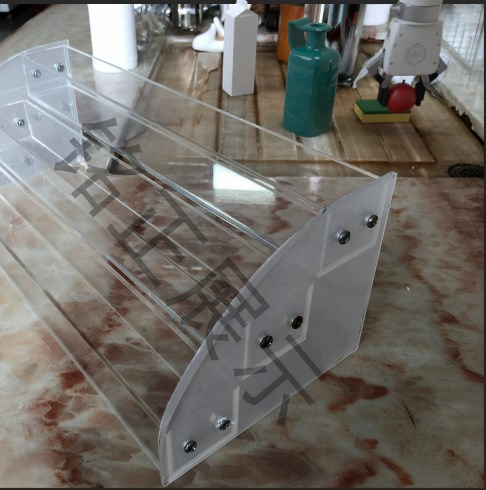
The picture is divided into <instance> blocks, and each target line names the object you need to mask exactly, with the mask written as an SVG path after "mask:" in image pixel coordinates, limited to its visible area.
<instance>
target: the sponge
mask: <svg viewBox="0 0 486 490" xmlns="http://www.w3.org/2000/svg"><path fill="white" fill-rule="evenodd" d="M354 112H355V114H356V116H357V118H358V119H359V120H360V121H361V123H363V124H364V123H366V124H367V123H404V122H405V123H406V122H407V123H408V122H409V121H410V118H411V112H412V109H411V110H409V111H408V112H406V113H402V114H396V113H393V112H391V111H389V110H388V109H387V108H386V107H382V106H381V105H380V104H379V102H378V101H377V98H374V99H373V98H371V99H367V98H365V99H355V103H354Z"/></svg>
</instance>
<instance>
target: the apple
mask: <svg viewBox="0 0 486 490" xmlns="http://www.w3.org/2000/svg"><path fill="white" fill-rule="evenodd" d="M388 87H389V89H390V91H389V96H388V101H387V106H386V108H387V109H388V110H389V111H391V112H393V113H396V114H402V113H406V112H408V111H409V110H411V111H412V109H413V108H414V107H415V106H416V105H415V103H416V100H417V94H416V91H415V89H414V88H415V87H414V86H413V85H411V84H410V83H407V82H406V79H402V81H400V82H395V83H393V84H392V85H390V86H388Z"/></svg>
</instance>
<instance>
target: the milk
mask: <svg viewBox="0 0 486 490" xmlns="http://www.w3.org/2000/svg"><path fill="white" fill-rule="evenodd" d="M223 22H224V24H223V57H222V58H223V59H222V88H221V89H222V90H223V91H224V92H225V93H227V95H229V96H230V97H238V96H245V95H253V94H254V93H255V79H256V61H257V46H258V28H259V14H257V13H256V12H254V11H252V10H250V9H249V8H248V1H247V0H236V2H235V4H233V5H232V6H231V7H230V8H228V9H227V10H225V11H224V21H223Z"/></svg>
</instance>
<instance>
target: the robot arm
mask: <svg viewBox="0 0 486 490" xmlns="http://www.w3.org/2000/svg"><path fill="white" fill-rule="evenodd" d="M443 1H444V0H398V1H397V3H396V5H394V6H390V8H389V14H390V15H394V16H395V17H393V18H391V21H390V24H389V26H388V29H387V31H386V34H385V37H384V41H383V45H382V47H381V52H380V54H379V55H378V56H376V57H375V59H373V60H372V61H371V62H369V64H367V65H366V67H365V69H366V70H367V71H368V73H369V74H370V75H371V76H372V77H373V79H374V80H375V81H376V82H377V83H378V89H377V96H376V99H377V101H378V102H379V104H380V105H381V106H382V107H386V106H387V101H388V96H389V91H390V89H389V87H390V86H389V85H390V83H391V81H392V80H393V78H394V77H410V76H411V77H413V76H414V77H417V78H418V81H416V83H415V84H414V87H413V88H414V89H415V91H416V94H417V100H416V103H415V105H414V106H416V107H421V104H422V102H423V101H424V99H425V95H426V91H427V88H429V86H430V85H431V83H432V82H433V81H435V80H436V79H437V78H438V77H439V75H441V74H443V73H444V72H445V71H446V70H447V69H448V65H447V64H446V62H445V61H444V60H443V58H441V49H442V42H443V41H442V40H443V29H444V28H443V22H444V21H443V20H442V19H439V18H440V14H441V10H442V6H443ZM378 68H381V69H382V70H383V71H382V73H381V74H380V73H379V72H378V70H377V69H378Z"/></svg>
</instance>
